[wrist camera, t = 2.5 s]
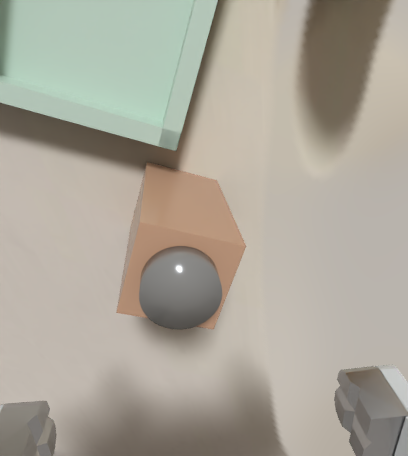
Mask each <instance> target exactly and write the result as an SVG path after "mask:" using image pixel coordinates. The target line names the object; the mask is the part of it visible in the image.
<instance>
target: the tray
mask: <svg viewBox="0 0 408 456" xmlns="http://www.w3.org/2000/svg"><path fill="white" fill-rule="evenodd" d="M217 2H218V0H0V103H4V104H7V105H11V106H15V107H18V108H22V109H25V110H29V111H33V112H36V113H40V114H44V115H47V116H51V117H54V118H58V119H62V120H65V121H69V122H72V123H76V124H80V125H83V126H87V127H90V128H94V129H98V130H101V131H105V132H109V133H112V134H116V135H119V136H123V137H127V138H130V139H134V140H137V141H141V142H145V143H148V144H152V145H156V146H159V147H163V148H166V149H170V150H174V151H176V150H177V146H178V143H179V139H180V135H181V132H182V128H183V125H184V121H185V117H186V114H187V110H188V107H189V103H190V99H191V96H192V92H193V88H194V85H195V81H196V78H197V74H198V70H199V67H200V63H201V60H202V56H203V52H204V49H205V45H206V41H207V38H208V34H209V31H210V27H211V23H212V20H213V16H214V13H215V9H216V5H217Z"/></svg>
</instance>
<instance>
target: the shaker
mask: <svg viewBox="0 0 408 456" xmlns="http://www.w3.org/2000/svg"><path fill="white" fill-rule="evenodd" d="M245 248H246V245H245V243H244V240H243V238H242V236H241V234H240V231H239V229H238V227H237V224H236V222H235V220H234V218H233V215H232V213H231V211H230V209H229V206H228V204H227V202H226V200H225V197H224V195H223V193H222V191H221V188H220V186H219V184H218V181H217V180H213V179H209V178H206V177H202V176H198V175H194V174H191V173H187V172H183V171H179V170H175V169H172V168H168V167H164V166H160V165H157V164H153V163H149V162H147V163H146V168H145V172H144V176H143V180H142V184H141V188H140V192H139V196H138V200H137V204H136V208H135V212H134V216H133V220H132V224H131V228H130V234H129V240H128V246H127V252H126V258H125V264H124V270H123V276H122V282H121V288H120V294H119V300H118V306H117V312H116V313H121V314H127V315H133V316H139V317H145V318H149V319H150V320H151V321H153V322H154V323H156V324H158V325H160V326H163V327H165V328H170V329H187V328H192V327H195V326H197V327H202V328H208V329H214V327H215V324H216V322H217V319H218V317H219V314H220V312H221V309H222V307H223V304H224V301H225V299H226V296H227V294H228V291H229V289H230V286H231V284H232V281H233V278H234V276H235V273H236V271H237V268H238V266H239V263H240V261H241V258H242V255H243V253H244V250H245Z"/></svg>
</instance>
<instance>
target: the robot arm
mask: <svg viewBox="0 0 408 456" xmlns="http://www.w3.org/2000/svg"><path fill="white" fill-rule="evenodd" d="M337 380H338V382H339V384H340V387H339V388H338V389H337V390H336V391H335V398H334V401H335V408H336V412H337V415H338V418H339V420H340V423H341V425H342V427H344V428H345V429H346V430H348V431H349V432H350V433H351V435H350V439H349V442H350V444H351V446H352V449H353V451H354V453H355V455H356V456H408V382H407V381H406V380H405V378H404V377H403V375H402V374H401V373H400V371H399V370H398V369H397V367H395V366H394V365H383V366H375V367H373V366H371V367H363V368H354V369H346V370H340V372H339V373H338V378H337ZM49 411H50V408H49V405H48V403H47V401H35V402H21V403H8V404H0V456H53V454H54V450H55V444H56V427H55V423H54V420H52V419H51V418H49V417H48V414H49Z"/></svg>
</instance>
